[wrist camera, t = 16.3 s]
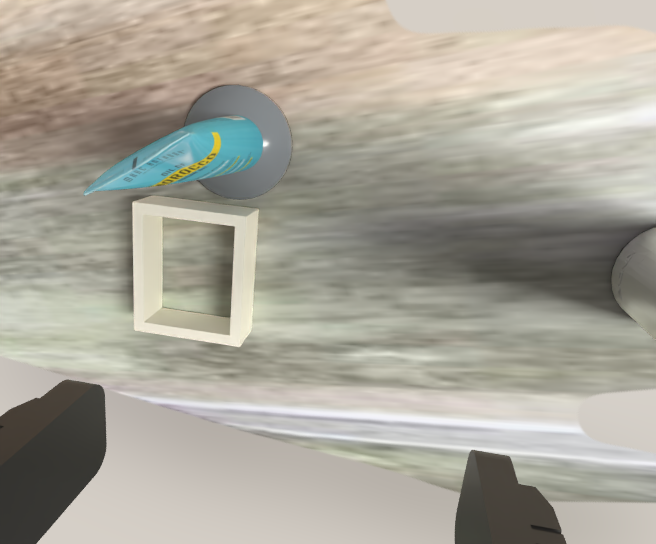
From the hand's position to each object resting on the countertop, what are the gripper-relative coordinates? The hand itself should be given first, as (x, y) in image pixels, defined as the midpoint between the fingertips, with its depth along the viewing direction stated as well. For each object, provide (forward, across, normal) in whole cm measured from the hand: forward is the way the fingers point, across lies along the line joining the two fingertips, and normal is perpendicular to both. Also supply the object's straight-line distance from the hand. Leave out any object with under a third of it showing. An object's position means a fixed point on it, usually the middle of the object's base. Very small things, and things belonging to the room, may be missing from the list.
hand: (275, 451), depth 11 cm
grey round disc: (+38, +13, -3) cm, 40 cm away
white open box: (+38, +16, +9) cm, 42 cm away
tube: (+38, +13, -3) cm, 40 cm away
